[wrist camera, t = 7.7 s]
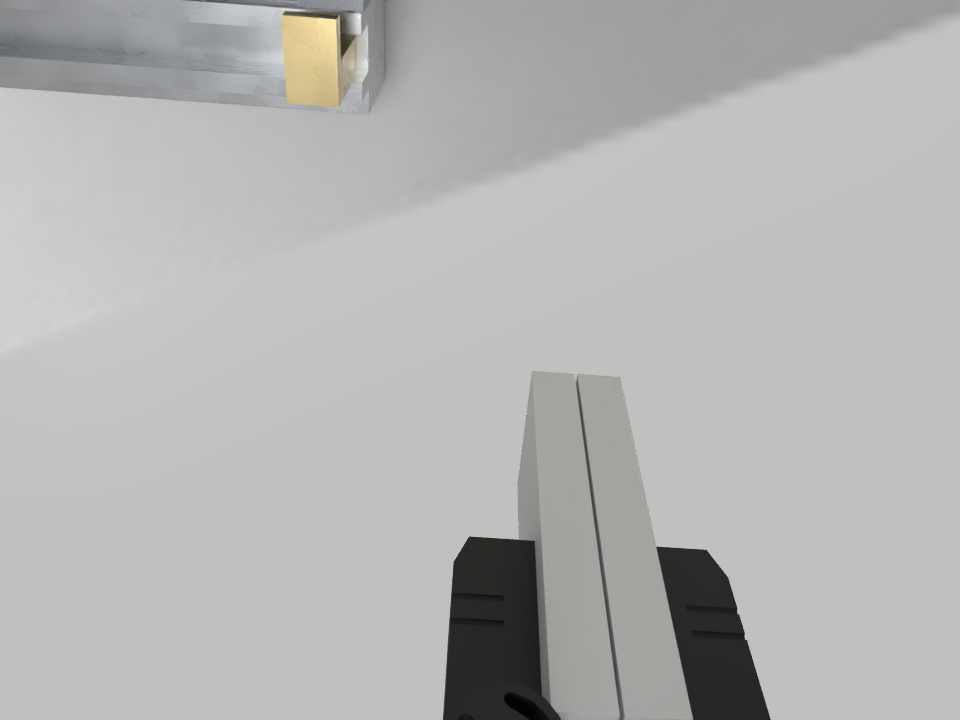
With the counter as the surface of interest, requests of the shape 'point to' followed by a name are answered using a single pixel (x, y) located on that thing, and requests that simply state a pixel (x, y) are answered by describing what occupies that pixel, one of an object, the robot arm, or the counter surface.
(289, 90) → the heatsink block
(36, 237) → the counter surface
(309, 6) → the dark grey flat bar
